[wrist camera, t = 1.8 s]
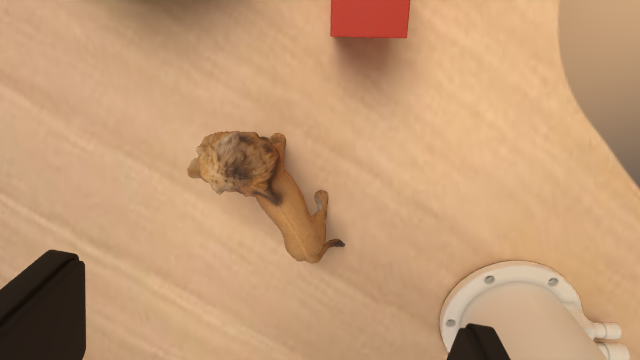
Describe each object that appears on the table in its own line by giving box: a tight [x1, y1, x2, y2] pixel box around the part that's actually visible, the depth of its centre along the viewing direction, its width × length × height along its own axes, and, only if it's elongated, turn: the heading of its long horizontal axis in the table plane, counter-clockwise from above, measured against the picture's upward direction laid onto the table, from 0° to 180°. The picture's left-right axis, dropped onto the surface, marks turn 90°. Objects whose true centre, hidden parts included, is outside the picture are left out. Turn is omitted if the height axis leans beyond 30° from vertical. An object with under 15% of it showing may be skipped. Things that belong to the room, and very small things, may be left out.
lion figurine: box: [187, 131, 345, 263], centre depth 31 cm, size 15×5×9 cm, turn 41°
